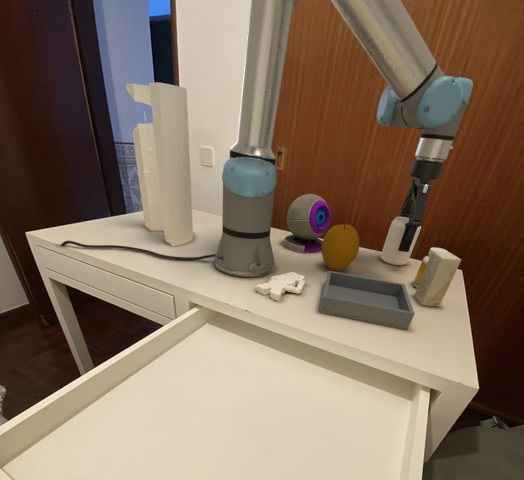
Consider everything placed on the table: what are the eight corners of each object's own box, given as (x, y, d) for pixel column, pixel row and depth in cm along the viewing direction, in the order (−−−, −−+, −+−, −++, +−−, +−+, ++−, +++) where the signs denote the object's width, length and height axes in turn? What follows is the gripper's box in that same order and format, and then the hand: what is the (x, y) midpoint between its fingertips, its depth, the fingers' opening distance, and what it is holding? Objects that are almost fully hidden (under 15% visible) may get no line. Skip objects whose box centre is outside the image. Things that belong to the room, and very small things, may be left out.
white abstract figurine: (313, 285, 71) (314, 277, 70) (282, 306, 64) (283, 297, 63) (283, 273, 75) (284, 265, 74) (251, 291, 68) (251, 283, 67)
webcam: (303, 255, 89) (312, 200, 80) (274, 242, 97) (280, 190, 88) (331, 249, 96) (343, 197, 87) (303, 237, 104) (311, 189, 95)
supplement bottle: (425, 282, 81) (441, 246, 75) (439, 291, 77) (456, 254, 71) (408, 282, 80) (423, 246, 74) (421, 291, 75) (437, 253, 70)
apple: (325, 259, 88) (335, 216, 81) (357, 268, 85) (370, 224, 78) (311, 268, 81) (320, 222, 74) (345, 278, 78) (358, 231, 71)
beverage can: (402, 268, 88) (419, 225, 81) (375, 260, 91) (389, 218, 84) (410, 262, 93) (426, 221, 86) (384, 254, 97) (398, 214, 90)
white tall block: (169, 246, 85) (142, 226, 98) (205, 241, 91) (175, 223, 104) (154, 81, 64) (122, 83, 77) (202, 89, 70) (165, 90, 83)
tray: (319, 312, 62) (322, 296, 60) (324, 284, 74) (328, 270, 71) (407, 329, 60) (414, 313, 57) (399, 298, 71) (404, 284, 69)
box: (439, 307, 69) (462, 260, 62) (420, 305, 69) (442, 258, 62) (430, 297, 73) (451, 251, 67) (412, 295, 73) (432, 249, 67)
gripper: (458, 165, 66) (420, 260, 79) (434, 158, 86) (407, 234, 99) (422, 161, 67) (391, 255, 80) (407, 155, 87) (384, 231, 100)
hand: (400, 244), depth 89 cm, fingers open, 13 cm apart
